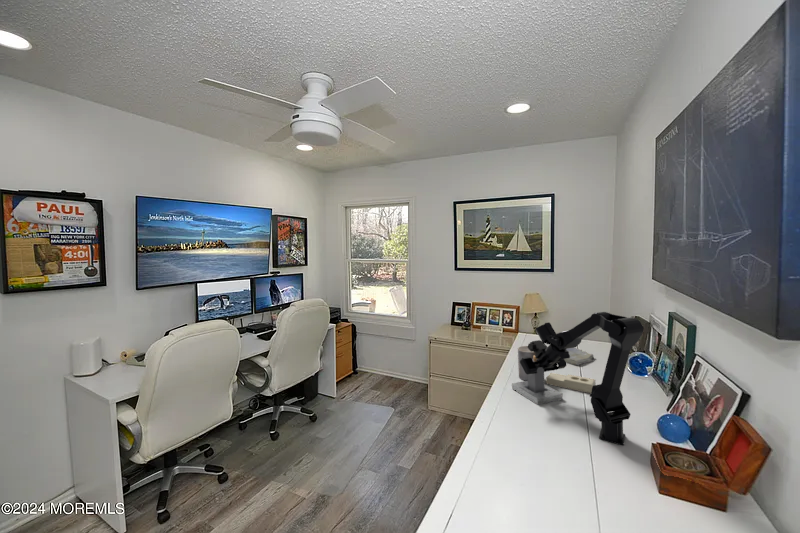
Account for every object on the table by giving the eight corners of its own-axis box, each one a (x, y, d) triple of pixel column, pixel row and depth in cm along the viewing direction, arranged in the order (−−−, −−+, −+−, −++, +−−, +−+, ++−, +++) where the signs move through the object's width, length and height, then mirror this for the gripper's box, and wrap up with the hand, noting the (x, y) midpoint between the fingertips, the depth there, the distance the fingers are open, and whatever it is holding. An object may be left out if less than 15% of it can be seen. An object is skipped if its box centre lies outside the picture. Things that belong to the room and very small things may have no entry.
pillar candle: (537, 373, 160) (535, 342, 159) (543, 381, 150) (542, 348, 149) (516, 374, 161) (515, 343, 160) (521, 382, 151) (520, 349, 150)
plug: (544, 392, 136) (543, 356, 136) (535, 394, 135) (534, 358, 134) (536, 388, 141) (536, 353, 140) (528, 390, 139) (527, 355, 139)
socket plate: (562, 399, 132) (562, 393, 132) (537, 404, 129) (537, 398, 128) (535, 384, 147) (535, 379, 147) (512, 388, 144) (511, 383, 144)
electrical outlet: (550, 370, 153) (595, 379, 141) (551, 379, 153) (595, 388, 142) (546, 375, 148) (592, 384, 136) (546, 384, 148) (592, 394, 136)
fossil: (599, 360, 178) (569, 350, 193) (599, 352, 177) (569, 343, 192) (576, 369, 168) (546, 358, 183) (576, 361, 168) (546, 350, 183)
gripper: (560, 333, 136) (542, 352, 147) (521, 338, 130) (505, 358, 141) (576, 357, 129) (555, 376, 140) (536, 364, 123) (518, 382, 134)
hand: (533, 372), depth 139 cm, fingers open, 6 cm apart
